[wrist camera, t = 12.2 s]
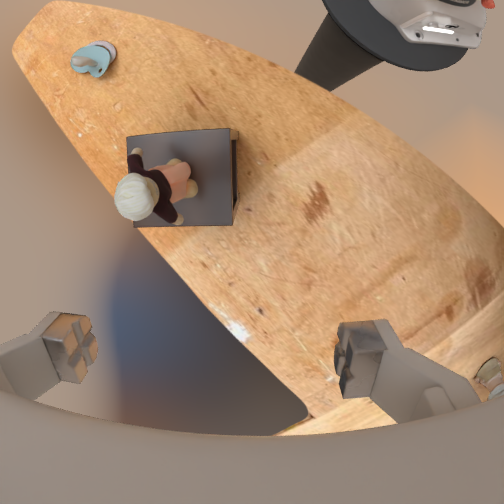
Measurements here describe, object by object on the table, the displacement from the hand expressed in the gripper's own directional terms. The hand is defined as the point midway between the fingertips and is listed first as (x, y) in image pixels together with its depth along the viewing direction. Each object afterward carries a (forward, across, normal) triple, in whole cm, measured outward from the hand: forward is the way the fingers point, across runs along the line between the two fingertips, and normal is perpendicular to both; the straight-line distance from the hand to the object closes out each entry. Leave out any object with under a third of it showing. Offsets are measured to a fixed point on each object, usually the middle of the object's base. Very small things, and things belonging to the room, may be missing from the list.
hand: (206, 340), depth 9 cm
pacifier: (+37, +23, -21) cm, 48 cm away
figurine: (+37, -58, +43) cm, 81 cm away
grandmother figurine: (+24, +7, -2) cm, 25 cm away
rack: (+37, +7, -2) cm, 37 cm away
